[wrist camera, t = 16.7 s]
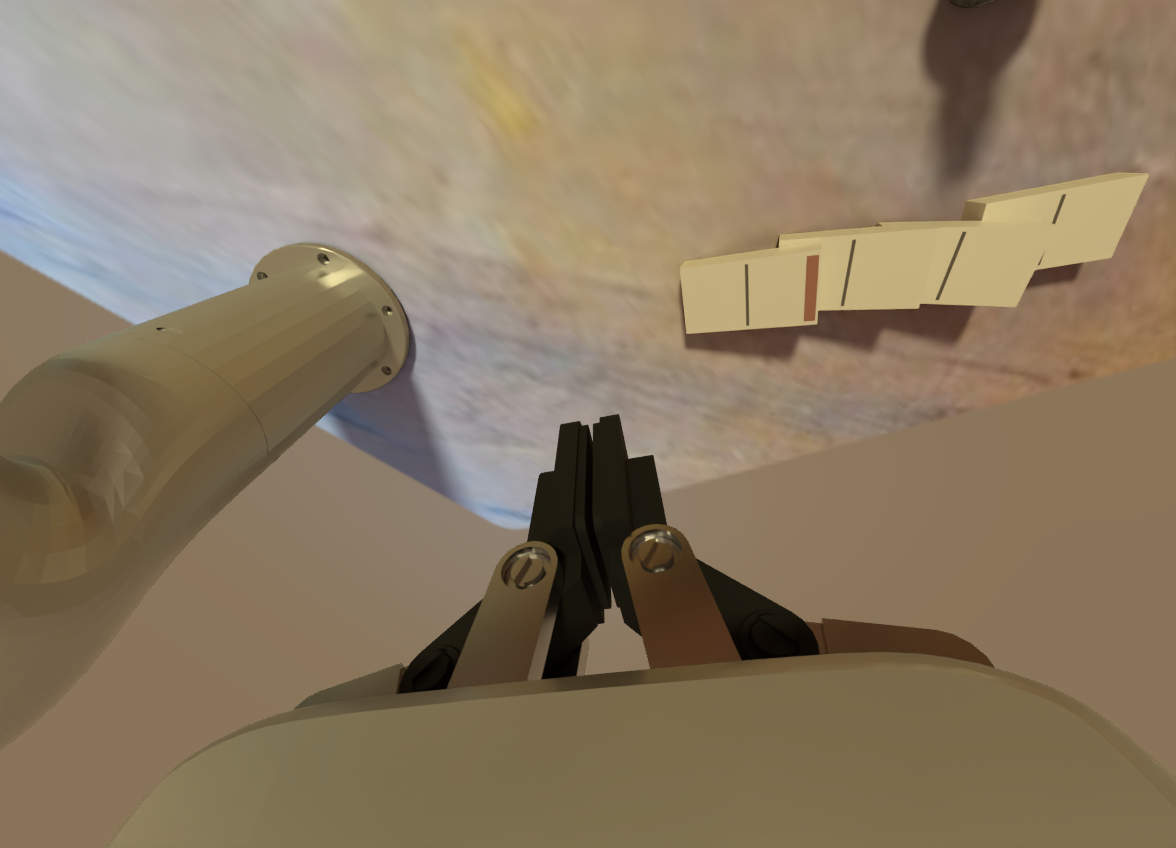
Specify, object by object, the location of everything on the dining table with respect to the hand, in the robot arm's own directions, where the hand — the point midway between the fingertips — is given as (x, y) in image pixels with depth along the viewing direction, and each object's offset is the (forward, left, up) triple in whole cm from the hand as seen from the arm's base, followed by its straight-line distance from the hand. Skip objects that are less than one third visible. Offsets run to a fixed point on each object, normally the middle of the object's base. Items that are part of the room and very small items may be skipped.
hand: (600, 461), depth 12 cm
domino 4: (+25, -4, -23) cm, 34 cm away
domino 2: (+12, -3, -23) cm, 26 cm away
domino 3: (+19, -4, -23) cm, 30 cm away
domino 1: (+5, -3, -23) cm, 24 cm away
